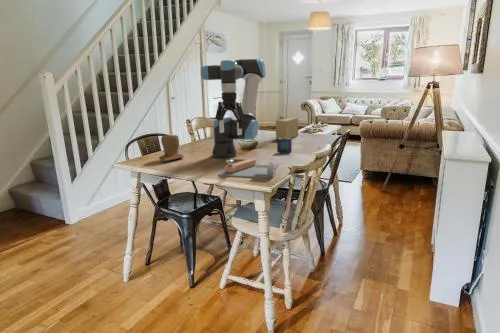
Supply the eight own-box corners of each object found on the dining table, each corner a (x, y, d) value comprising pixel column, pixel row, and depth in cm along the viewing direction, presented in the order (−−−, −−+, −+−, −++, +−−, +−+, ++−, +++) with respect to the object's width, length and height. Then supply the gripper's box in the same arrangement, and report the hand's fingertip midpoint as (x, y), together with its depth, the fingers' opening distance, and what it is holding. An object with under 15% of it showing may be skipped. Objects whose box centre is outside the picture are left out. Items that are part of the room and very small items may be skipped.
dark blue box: (291, 151, 220) (291, 135, 217) (292, 152, 217) (292, 135, 214) (276, 152, 219) (276, 135, 216) (277, 153, 216) (277, 136, 213)
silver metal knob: (224, 166, 172) (224, 161, 171) (227, 164, 176) (227, 159, 175) (232, 166, 171) (232, 161, 170) (234, 164, 175) (234, 159, 174)
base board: (217, 175, 171) (217, 174, 171) (233, 162, 195) (233, 161, 195) (268, 178, 164) (268, 177, 164) (278, 164, 189) (278, 163, 188)
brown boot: (174, 155, 216) (173, 132, 212) (186, 158, 208) (185, 134, 204) (154, 160, 205) (151, 135, 201) (165, 163, 197) (163, 137, 193)
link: (230, 173, 171) (230, 168, 170) (222, 172, 174) (222, 166, 173) (256, 164, 186) (256, 159, 185) (249, 163, 189) (249, 158, 188)
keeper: (255, 177, 167) (254, 164, 165) (258, 172, 175) (258, 160, 173) (272, 178, 165) (272, 165, 163) (275, 173, 172) (275, 161, 171)
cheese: (292, 135, 277) (292, 116, 273) (302, 136, 271) (302, 117, 267) (275, 139, 262) (275, 119, 258) (285, 140, 255) (285, 120, 251)
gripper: (207, 91, 180) (209, 132, 186) (242, 92, 165) (243, 137, 171) (217, 91, 186) (219, 130, 191) (251, 91, 170) (252, 134, 176)
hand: (230, 133), depth 181 cm, fingers open, 12 cm apart
